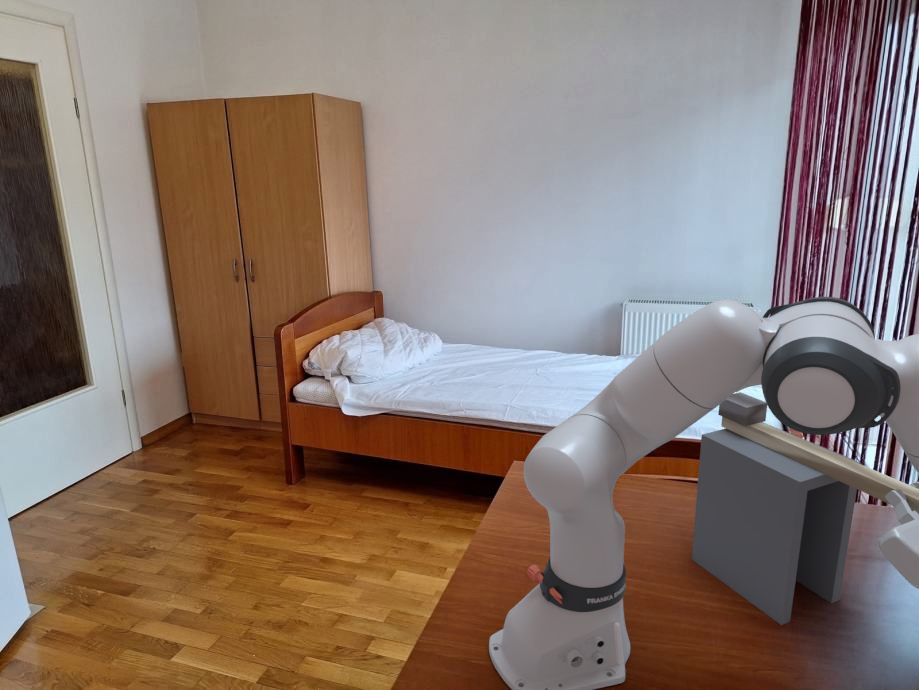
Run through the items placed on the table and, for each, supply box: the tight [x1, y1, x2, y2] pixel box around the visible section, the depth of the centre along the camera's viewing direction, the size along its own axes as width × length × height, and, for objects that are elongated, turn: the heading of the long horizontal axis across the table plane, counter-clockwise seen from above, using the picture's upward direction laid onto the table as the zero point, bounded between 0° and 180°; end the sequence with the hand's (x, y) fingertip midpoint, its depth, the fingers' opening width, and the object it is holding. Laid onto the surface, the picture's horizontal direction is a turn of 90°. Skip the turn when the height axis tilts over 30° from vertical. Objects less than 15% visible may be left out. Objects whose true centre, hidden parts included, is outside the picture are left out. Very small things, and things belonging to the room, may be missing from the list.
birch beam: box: [718, 391, 919, 514], centre depth 100 cm, size 5×36×6 cm, turn 24°
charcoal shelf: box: [691, 422, 862, 626], centre depth 110 cm, size 14×20×26 cm
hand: (901, 488), depth 88 cm, fingers closed on birch beam, 3 cm apart
